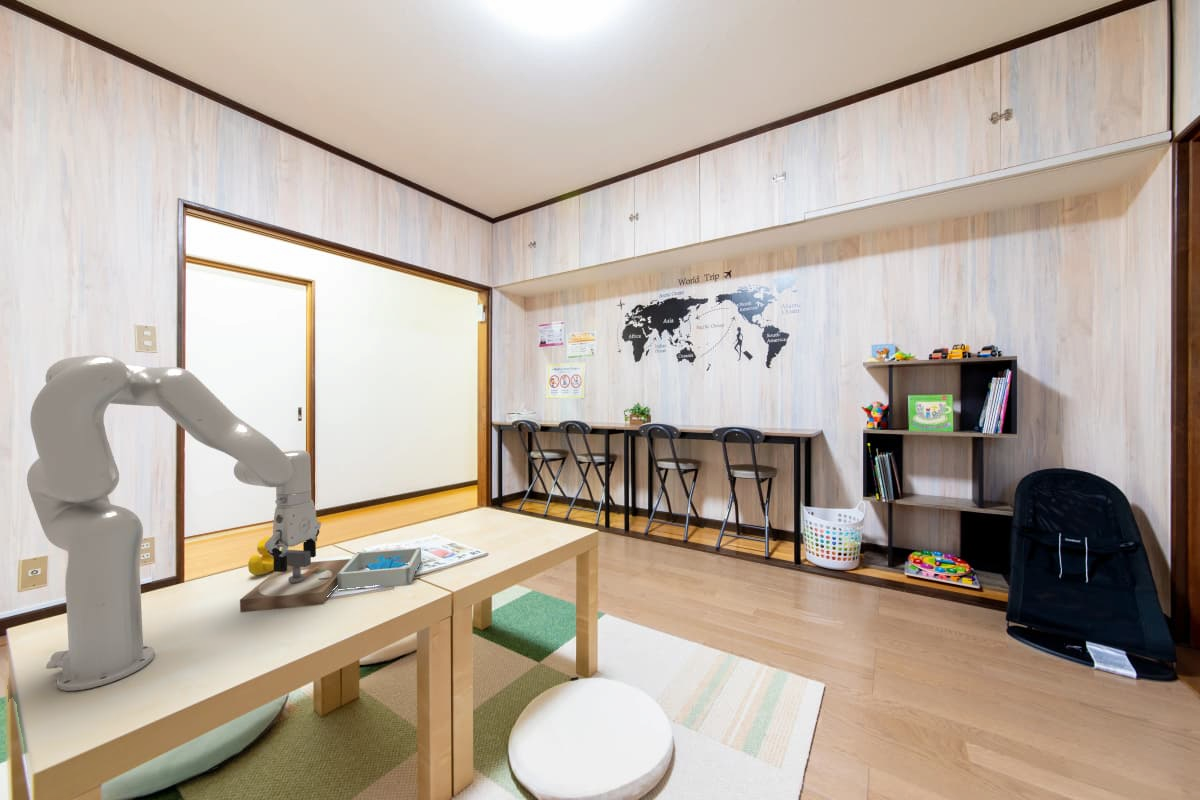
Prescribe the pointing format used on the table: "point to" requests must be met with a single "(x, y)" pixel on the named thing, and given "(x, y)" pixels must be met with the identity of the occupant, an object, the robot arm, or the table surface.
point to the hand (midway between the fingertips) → (295, 563)
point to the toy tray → (382, 577)
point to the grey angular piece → (298, 564)
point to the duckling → (261, 560)
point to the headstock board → (294, 588)
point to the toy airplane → (386, 563)
